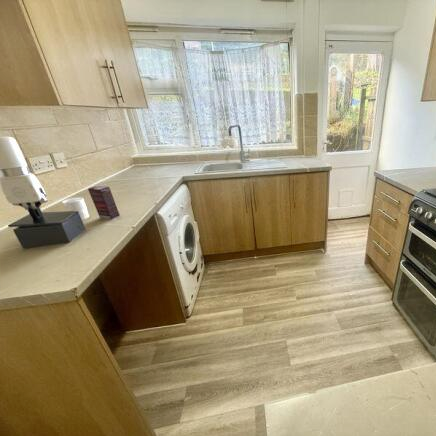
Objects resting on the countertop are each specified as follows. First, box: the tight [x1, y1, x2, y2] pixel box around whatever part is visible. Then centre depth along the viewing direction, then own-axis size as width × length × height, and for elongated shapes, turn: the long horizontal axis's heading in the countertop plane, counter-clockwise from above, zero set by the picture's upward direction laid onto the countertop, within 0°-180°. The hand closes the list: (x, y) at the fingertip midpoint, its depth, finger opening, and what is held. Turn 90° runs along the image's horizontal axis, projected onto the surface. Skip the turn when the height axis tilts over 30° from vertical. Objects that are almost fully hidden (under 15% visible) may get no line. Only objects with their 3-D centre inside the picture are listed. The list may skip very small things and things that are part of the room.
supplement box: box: [87, 185, 121, 220], centre depth 119 cm, size 9×5×16 cm, turn 71°
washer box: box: [12, 213, 86, 250], centre depth 100 cm, size 16×13×9 cm
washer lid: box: [7, 210, 79, 228], centre depth 98 cm, size 16×13×1 cm
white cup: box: [61, 196, 90, 221], centre depth 120 cm, size 8×8×10 cm
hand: (37, 217), depth 97 cm, fingers closed
